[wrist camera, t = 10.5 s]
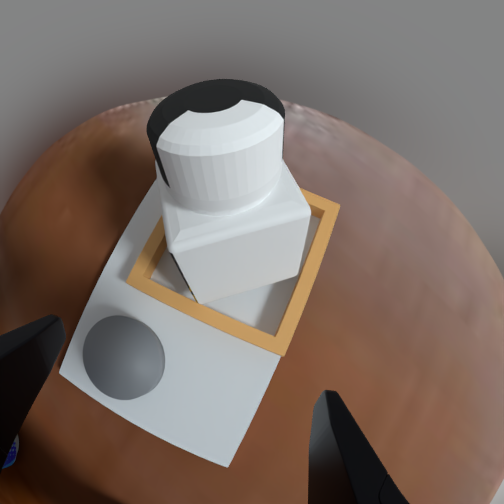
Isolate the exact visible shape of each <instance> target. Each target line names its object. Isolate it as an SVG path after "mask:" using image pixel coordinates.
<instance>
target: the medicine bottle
mask: <svg viewBox="0 0 504 504" xmlns="http://www.w3.org/2000/svg"><path fill="white" fill-rule="evenodd" d="M284 123H285V109H284V107H283V104H282V103H281V101H280V100H279V99H278V98H277V97H276V96H275V95H274V94H273V93H272V92H271V91H269V90H268V89H267V88H265V87H263V86H261V85H258V84H255V83H251V82H247V81H242V80H233V79H217V80H209V81H203V82H199V83H196V84H193V85H190V86H187V87H185V88H183V89H181V90H178V91H176V92H175V93H173V94H171V95H169V96H168V97H167V98H165V99H164V100H163V101H162V102H160V103H159V104H158V106H157V107H156V108H155V109H154V111H153V113H152V114H151V116H150V118H149V121H148V123H147V135H148V138H149V141H150V144H151V147H152V150H153V153H154V156H155V159H156V160H155V165H156V173H157V181H158V189H159V196H160V204H161V210H162V217H163V223H164V230H165V236H166V242H167V248H168V251H169V252H170V254H171V256H172V258H173V260H174V262H175V264H176V266H177V268H178V270H179V272H180V274H181V275H182V277H183V279H184V281H185V283H186V285H187V287H188V288H189V290H190V292H191V294H192V296H193V297H194V299H195V301H196V303H198V304H204V303H208V302H211V301H215V300H218V299H222V298H225V297H228V296H232V295H235V294H239V293H242V292H245V291H249V290H252V289H256V288H259V287H262V286H265V285H269V284H272V283H275V282H279V281H282V280H285V279H288V278H291V277H294V276H296V275H297V274H298V271H299V267H300V262H301V258H302V254H303V249H304V245H305V240H306V235H307V231H308V226H309V221H310V216H311V209H310V206H309V205H308V203H307V201H306V199H305V197H304V196H303V194H302V192H301V190H300V188H299V187H298V185H297V183H296V181H295V180H294V178H293V176H292V175H291V173H290V171H289V169H288V168H287V166H286V164H285V163H284V161H283V143H284Z"/></svg>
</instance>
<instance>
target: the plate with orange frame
mask: <svg viewBox="0 0 504 504" xmlns="http://www.w3.org/2000/svg"><path fill="white" fill-rule="evenodd" d="M300 190H301V192H302V194H303V196H304V197H305V199H306V201H307V203H308V205H309V206H310V209H311V216H310V221H309V226H308V231H307V235H306V240H305V245H304V249H303V254H302V258H301V262H300V267H299V271H298V274H297V275H296V276H294V277H291V278H288V279H285V280H282V281H279V282H275V283H272V284H269V285H265V286H262V287H259V288H256V289H252V290H249V291H245V292H242V293H239V294H235V295H232V296H228V297H225V298H222V299H218V300H215V301H211V302H208V303H204V304H198V303H196V301H195V299H194V297H193V296H192V294H191V292H190V290H189V288H188V287H187V285H186V283H185V281H184V279H183V277H182V275H181V274H180V272H179V270H178V268H177V266H176V264H175V262H174V260H173V258H172V256H171V254H170V252H169V251H168V248H167V242H166V236H165V230H164V223H163V217H162V210H161V204H160V196H159V189H158V181H157V178H156V180H155V182H154V183H153V185H152V186H151V188H150V189H149V191H148V193H147V194H146V196H145V197H144V199H143V201H142V202H141V204H140V205H139V207H138V209H137V210H136V212H135V214H134V215H133V217H132V219H131V221H130V222H129V224H128V226H127V227H126V229H125V231H124V233H123V234H122V236H121V238H120V240H119V242H118V243H117V245H116V247H115V249H114V251H113V253H112V255H111V256H110V258H109V260H108V262H107V264H106V266H105V268H104V270H103V272H102V274H101V276H100V278H99V280H98V282H97V284H96V286H95V288H94V290H93V292H92V294H91V296H90V299H89V301H88V303H87V305H86V307H85V309H84V312H83V314H82V316H81V318H80V321H79V323H78V325H77V328H76V330H75V332H74V335H73V337H72V340H71V342H70V345H69V347H68V350H67V352H66V355H65V357H64V360H63V363H62V366H61V368H60V371H59V373H60V374H61V375H62V376H64V377H65V378H66V379H68V380H69V381H70V382H71V383H73V384H74V385H76V386H77V387H78V388H80V389H81V390H82V391H84V392H85V393H87V394H88V395H89V396H91V397H92V398H94V399H95V400H97V401H98V402H100V403H101V404H103V405H104V406H106V407H107V408H109V409H110V410H112V411H114V412H115V413H117V414H118V415H120V416H122V417H123V418H125V419H127V420H128V421H130V422H132V423H134V424H135V425H137V426H139V427H141V428H142V429H144V430H146V431H148V432H150V433H152V434H154V435H155V436H157V437H159V438H161V439H163V440H165V441H167V442H169V443H171V444H173V445H175V446H178V447H180V448H182V449H184V450H186V451H188V452H191V453H193V454H195V455H197V456H200V457H202V458H205V459H207V460H209V461H212V462H214V463H217V464H219V465H222V466H225V467H227V468H228V466H229V464H230V462H231V460H232V459H233V457H234V455H235V453H236V451H237V449H238V447H239V445H240V443H241V441H242V439H243V437H244V435H245V433H246V431H247V429H248V427H249V425H250V423H251V421H252V419H253V416H254V414H255V412H256V410H257V408H258V406H259V404H260V402H261V400H262V397H263V395H264V393H265V391H266V389H267V386H268V384H269V382H270V380H271V378H272V375H273V373H274V371H275V369H276V366H277V364H278V362H279V359H280V357H281V356H284V355H285V353H286V351H287V348H288V346H289V344H290V341H291V339H292V336H293V334H294V331H295V329H296V327H297V324H298V322H299V319H300V317H301V314H302V312H303V309H304V306H305V304H306V301H307V299H308V296H309V294H310V291H311V288H312V286H313V283H314V280H315V278H316V275H317V272H318V269H319V267H320V264H321V261H322V258H323V256H324V253H325V250H326V247H327V244H328V241H329V238H330V235H331V232H332V230H333V227H334V224H335V221H336V218H337V214H338V211H339V208H340V205H339V204H337V203H334V202H332V201H330V200H327V199H325V198H323V197H320V196H318V195H316V194H313V193H311V192H308V191H306V190H304V189H301V188H300Z"/></svg>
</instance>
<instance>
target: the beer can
mask: <svg viewBox="0 0 504 504" xmlns="http://www.w3.org/2000/svg"><path fill="white" fill-rule="evenodd" d="M18 449H19V438H18V434H17V436H16V438H15V441H14V443H13V445H12V447H11V449H10V452H9V454H8V456H7V459H6V461H5V463H4V466H3V468H6V467H9V466H11V465H12V464H13V463H14V462H15V459H16V456H17V452H18ZM3 468H2V469H3Z"/></svg>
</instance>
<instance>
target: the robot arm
mask: <svg viewBox="0 0 504 504" xmlns="http://www.w3.org/2000/svg"><path fill="white" fill-rule="evenodd" d="M65 339H66V333H65V330H64V326H63V322H62V319H61V318H60V317H58V316H56V315H53V314H51V315H48V316H46V317H43V318H41V319H38V320H36V321H34V322H31V323H29V324H26V325H24V326H22V327H19V328H17V329H15V330H12V331H10V332H8V333H5V334H3V335H1V336H0V473H1V471H2V468H3V466H4V463H5V461H6V459H7V456H8V454H9V452H10V449H11V447H12V445H13V443H14V441H15V438H16V436H17V434H18V432H19V430H20V428H21V426H22V424H23V422H24V420H25V418H26V416H27V414H28V412H29V410H30V408H31V406H32V404H33V403H34V401H35V399H36V397H37V395H38V393H39V392H40V390H41V388H42V386H43V384H44V383H45V381H46V379H47V377H48V376H49V374H50V372H51V370H52V367H53V365H54V363H55V361H56V359H57V357H58V354H59V352H60V350H61V348H62V346H63V344H64V342H65ZM308 504H409V502H408V501H407V500H406V499H405V497H404V496H403V495H402V493H401V492H400V490H399V489H398V487H397V486H396V484H395V483H394V481H393V480H392V478H391V477H390V475H389V474H388V472H387V471H386V469H385V467H384V466H383V464H382V463H381V461H380V459H379V458H378V456H377V455H376V453H375V451H374V450H373V448H372V447H371V445H370V443H369V442H368V440H367V439H366V437H365V435H364V434H363V432H362V431H361V429H360V428H359V426H358V424H357V423H356V421H355V420H354V418H353V416H352V415H351V413H350V412H349V410H348V408H347V407H346V405H345V404H344V402H343V400H342V399H341V397H340V396H339V394H338V393H337V392H336V391H331V390H324V391H323V392H322V394H321V395H320V397H319V399H318V400H317V402H316V403H315V406H314V410H313V419H312V428H311V436H310V444H309V481H308Z"/></svg>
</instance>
